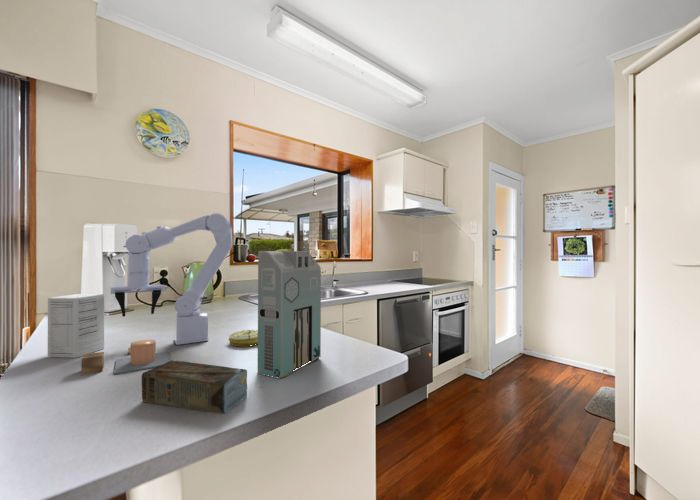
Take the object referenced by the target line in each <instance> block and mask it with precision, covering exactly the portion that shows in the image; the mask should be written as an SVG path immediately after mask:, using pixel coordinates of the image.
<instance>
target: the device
mask: <svg viewBox="0 0 700 500" xmlns="http://www.w3.org/2000/svg"><path fill="white" fill-rule="evenodd" d="M257 253H258V255H257V257H258V259H257V260H258V262H257V263H258V264H257V267H258V268H257V277H258V278H257V330H258V345H257V373H259V374H258V375H261V374H265V375H269V376H273V377H272V378H274V377H278V378H281V379H283V378H284V377H287V376H288V375H290V374H292V373H294V372H293V370H295V369H296V368H299V367H301V366H302V365H304V364H306V363H308V362H309V361H311V362H312V361H314V360H316V359H317V358H319V357H320V358H321V356H322V355H321V353H322V352H321V346H322V345H321V342H322V341H321V338H322V337H321V336H322V335H321V334H322V331H321V330H322V328H321V326H322V325H321V321H322V318H321V317H322V316H321V315H322V314H321V313H322V305H321V304H322V303H321V302H322V298H321V297H322V268H321V266H320V264H319V263H318V262H317V261H316V260H315V258H314V257H313V256H312V255H311V253H310V251H309V250H308V251H307V250H305V251H303V250H302V251H301V250H299V251H297V250H294V251H293V250H291V251H290V250H289V251H288V250H287V251H286V250H285V251H284V250H282V251H281V250H278V251H276V250H259V251H258V252H257ZM316 361H317V360H316ZM314 362H315V361H314ZM312 363H313V362H312ZM291 372H292V373H291ZM289 373H290V374H289ZM265 375H264V376H265ZM269 376H268V377H269ZM282 377H283V378H282ZM278 378H277V379H278Z"/></svg>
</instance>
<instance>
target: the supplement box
mask: <svg viewBox="0 0 700 500" xmlns="http://www.w3.org/2000/svg"><path fill="white" fill-rule="evenodd" d="M104 349H105V294H104V293H75V294H69V295H68V294H67V295H60V296H53V297H52V296H51V297H47V358H70V359H76V358H79V357H80V358H81V357H83V355H84V354H91V353H96V352H99V351H100V350H104Z"/></svg>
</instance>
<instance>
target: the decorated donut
mask: <svg viewBox="0 0 700 500" xmlns="http://www.w3.org/2000/svg"><path fill="white" fill-rule="evenodd" d="M228 341H229V344H230V345H232V346H233V345H236V346H235V347H240V346H249V347H251V346H250V345H254V346H256V345H255V344H258V329H247V330H246V329H245V330H240V331H235V332H233V333H231V334H230V335H229V337H228Z"/></svg>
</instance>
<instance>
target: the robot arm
mask: <svg viewBox="0 0 700 500" xmlns="http://www.w3.org/2000/svg"><path fill="white" fill-rule="evenodd" d="M197 231H206V232H210V233H212V235H213V237H214V240H215V244H216V245H215V246H214V248H213V249H212V251H211V252H210V254H209V255H208V258H207V259H206V260H205V262H204V264H203V265H202V267H201V269H199V272H198V274H197V275H196V277H195V278H194V280H193V281H192V283H191V285H190V286H189V287H188V289H186V291H185V292H184V294H182V296H179V297H178V298H177V299H176V301H175V302H174V309H175V311H176V321H175V322H176V324H175V325H176V326H175V327H176V329H175V331H176V332H175V333H176V334H175V335H176V337H175V338H173V341H174V343H175V345H177V346H179V345H186V344H194V343H201V342H202V343H203V342H207V341H209V320H208V319H209V316H208V313H207V312H202V313H201V310H200V309H199V308H200V307H201V305H202V302H203V301H202V300H203V296H204V295H205V292H206V290H207V288H208V287H209V285H210V284H211V282H212V281H213V279H214V277H215V275H216V274H217V272H218V271H219V269H220V267H221V266H222V264H223V263H224V261H225V259H226V257H227V256H228V254H229V253H230V251H231V250H232V247H233V244H234V242H233V226H232V225H231V222H230V220H229V219H228V218H227V217H226V216H224V215H223V214H221V213H218V212H217V213H215V212H214V213H212V214H210V215H209V214H208V215H203V216H200V217H198V218H194V219H192V220H190V221H187V222H183V223H181V224H179V225H177V226H176V225H175V226H174V227H168V226H165V225H164V226H162V225H159V226H156V229H154V230H151V231H148V232H146V231H142V232H141V235H140V234H132V235H131V236H130V237H128V238H127V239H126V241H125V248H126V250H127V251H128V266H127V269H128V270H127V272H128V273H127V278H128V279H127V280H128V283H127V286H115V287H114V286H111V287H110V295H114V298H115V299H116V300H117V303H118V305H119V308H120V311H121V313H122V314H121V315H122V317H126V294H131V293H147V292H149V293H151V309H150V315H154V314H155V308H156V305H157V303H158V302H159V301H158V300H159V298H160V296H161V295H162V292H165V291H166V286H165V284H153V285H151V284H150V252H151V251H152V250H155V249H158V248H161V247H163V246H166V245H169V244H172V243H173V242H174V241H175V239H176V238H177V237H181V236H184V235H187V234H190V233H194V232H197Z"/></svg>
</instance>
